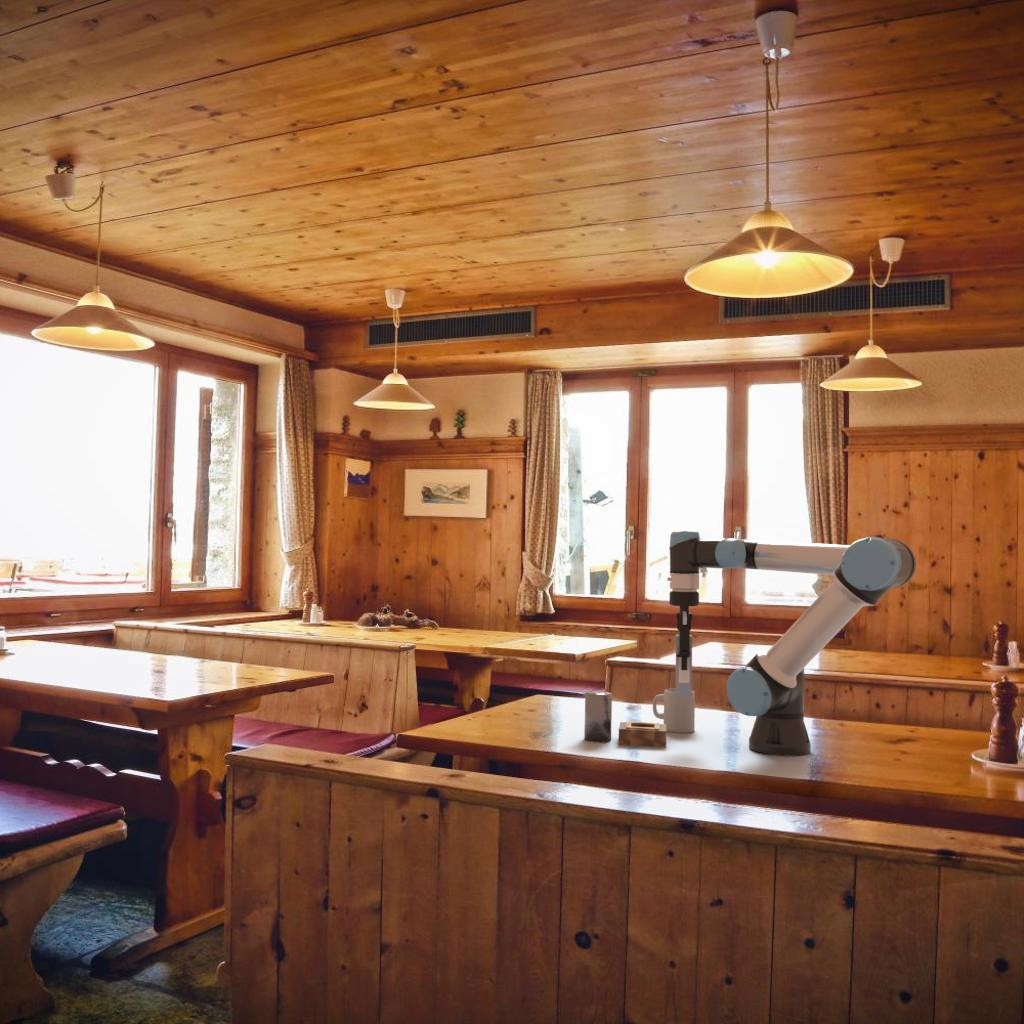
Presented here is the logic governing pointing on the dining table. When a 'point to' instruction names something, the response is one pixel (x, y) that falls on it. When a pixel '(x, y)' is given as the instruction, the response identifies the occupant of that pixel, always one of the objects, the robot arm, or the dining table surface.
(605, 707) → the grey storage canister
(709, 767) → the dining table surface
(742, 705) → the robot arm
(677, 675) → the square bit
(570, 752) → the dining table surface
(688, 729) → the mug
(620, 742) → the socket block
